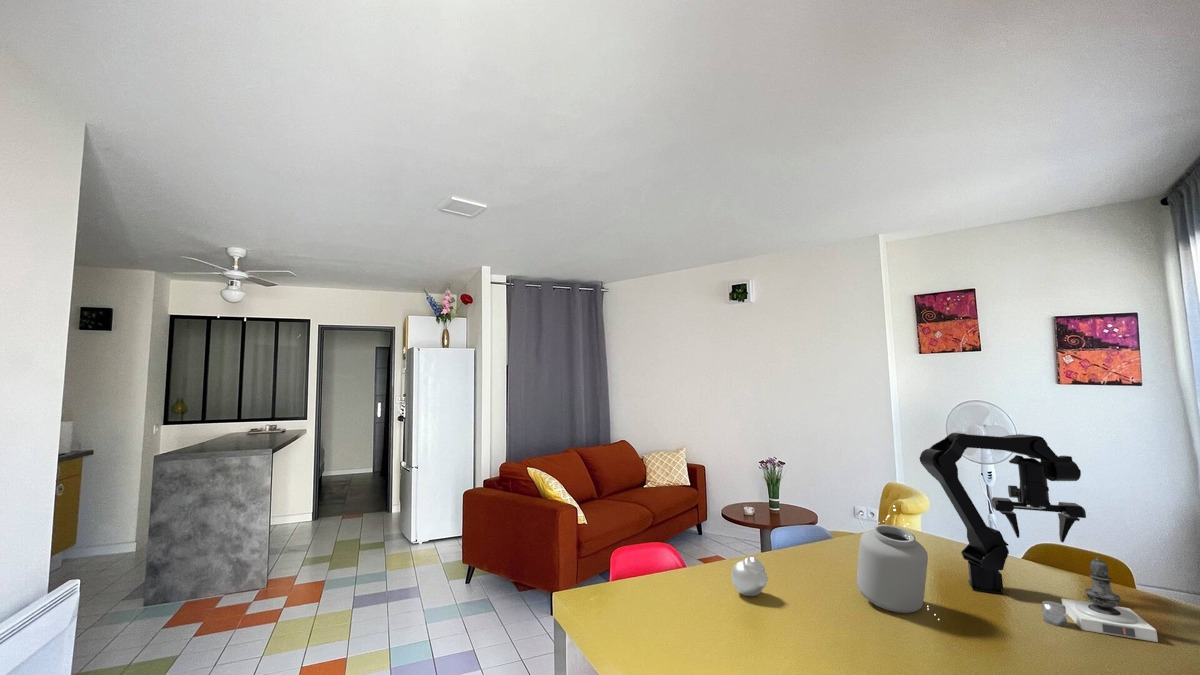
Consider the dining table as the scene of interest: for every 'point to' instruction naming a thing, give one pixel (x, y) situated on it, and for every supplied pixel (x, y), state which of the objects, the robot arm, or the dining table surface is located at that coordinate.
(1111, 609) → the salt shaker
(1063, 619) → the spacer
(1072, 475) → the robot arm
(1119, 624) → the scale
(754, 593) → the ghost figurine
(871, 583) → the jar
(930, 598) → the dining table surface
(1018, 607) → the dining table surface
